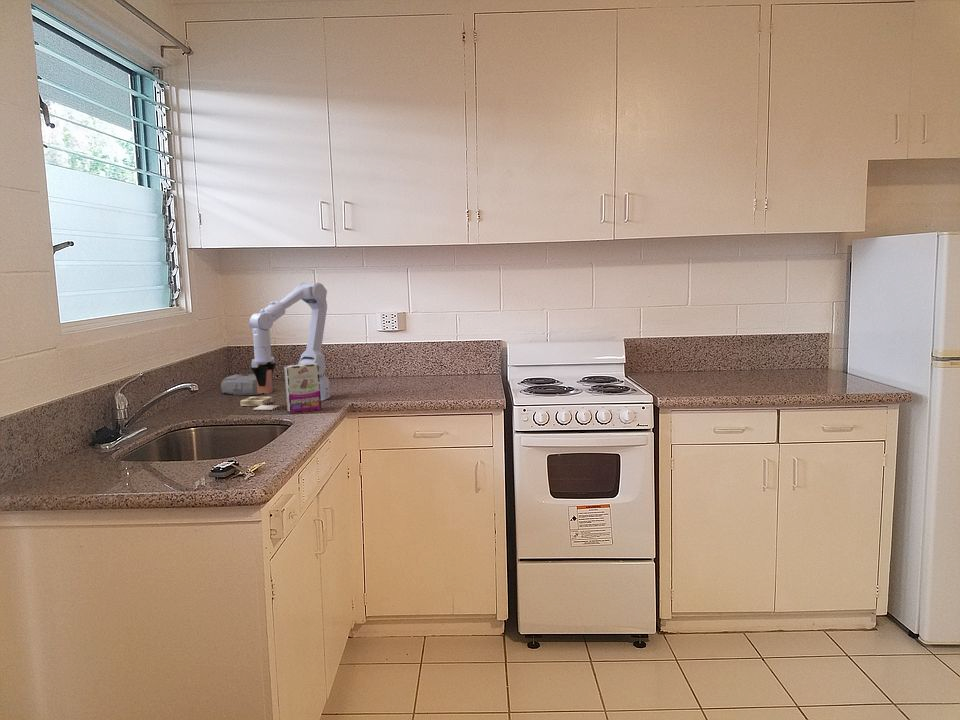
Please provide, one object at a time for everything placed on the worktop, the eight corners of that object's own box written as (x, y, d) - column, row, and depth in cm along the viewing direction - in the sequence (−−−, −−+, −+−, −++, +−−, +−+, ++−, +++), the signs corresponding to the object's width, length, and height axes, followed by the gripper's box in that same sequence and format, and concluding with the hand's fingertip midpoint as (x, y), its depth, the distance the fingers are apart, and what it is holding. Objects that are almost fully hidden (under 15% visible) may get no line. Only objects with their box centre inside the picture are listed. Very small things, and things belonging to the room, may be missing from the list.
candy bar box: (318, 407, 258) (315, 362, 256) (321, 410, 253) (319, 363, 251) (286, 411, 253) (283, 365, 251) (289, 413, 248) (286, 366, 246)
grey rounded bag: (276, 391, 297) (238, 389, 305) (274, 371, 296) (236, 369, 304) (251, 397, 284) (211, 395, 291) (249, 376, 282) (210, 374, 290)
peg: (272, 391, 259) (271, 369, 258) (268, 393, 255) (266, 371, 254) (262, 391, 260) (260, 369, 259) (257, 393, 256) (255, 371, 255)
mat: (279, 407, 261) (279, 405, 261) (271, 410, 255) (271, 408, 255) (261, 406, 262) (260, 405, 262) (253, 410, 256) (252, 408, 256)
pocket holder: (272, 402, 271) (272, 396, 270) (262, 406, 262) (262, 400, 262) (251, 402, 272) (250, 396, 272) (240, 406, 264) (240, 400, 263)
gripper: (260, 344, 263) (262, 381, 265) (242, 349, 249) (244, 388, 251) (278, 344, 262) (281, 381, 264) (261, 349, 248) (264, 388, 250)
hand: (264, 384), depth 257 cm, fingers closed on peg, 4 cm apart
